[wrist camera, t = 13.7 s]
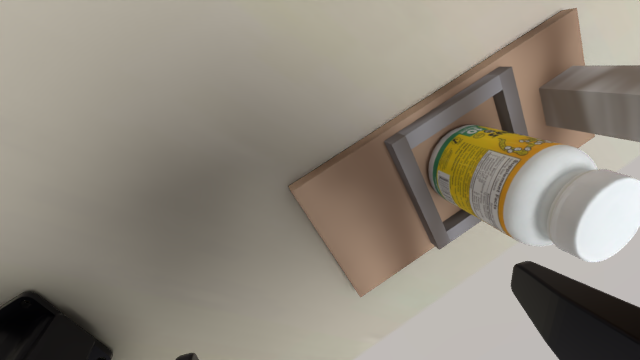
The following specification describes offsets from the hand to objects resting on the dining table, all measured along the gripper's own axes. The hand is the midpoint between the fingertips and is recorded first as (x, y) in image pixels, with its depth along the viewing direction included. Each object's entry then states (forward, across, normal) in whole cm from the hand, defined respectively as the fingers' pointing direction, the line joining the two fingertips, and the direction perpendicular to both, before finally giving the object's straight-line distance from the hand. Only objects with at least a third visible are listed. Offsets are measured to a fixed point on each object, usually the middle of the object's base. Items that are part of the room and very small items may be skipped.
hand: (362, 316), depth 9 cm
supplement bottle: (+13, -10, +4) cm, 17 cm away
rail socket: (+14, -11, +4) cm, 18 cm away
